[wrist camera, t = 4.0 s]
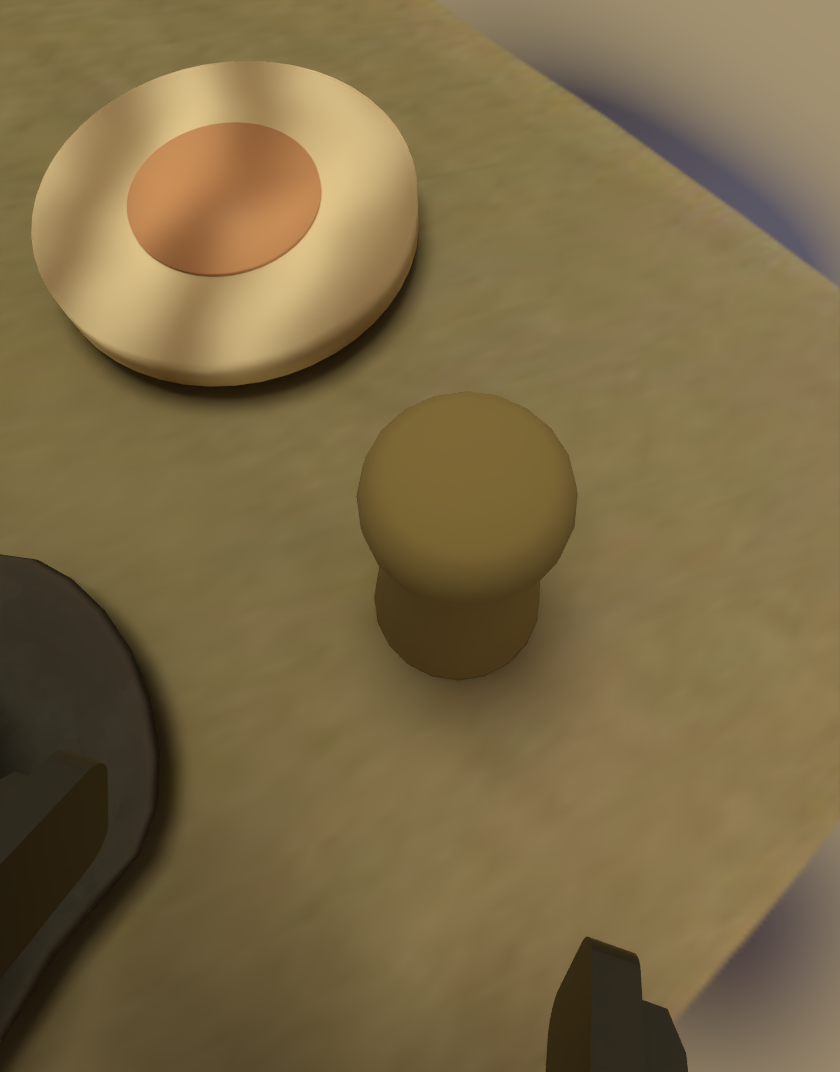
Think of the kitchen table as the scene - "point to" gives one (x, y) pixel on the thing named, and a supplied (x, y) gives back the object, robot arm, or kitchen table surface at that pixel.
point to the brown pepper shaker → (464, 529)
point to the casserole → (71, 734)
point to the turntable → (228, 222)
